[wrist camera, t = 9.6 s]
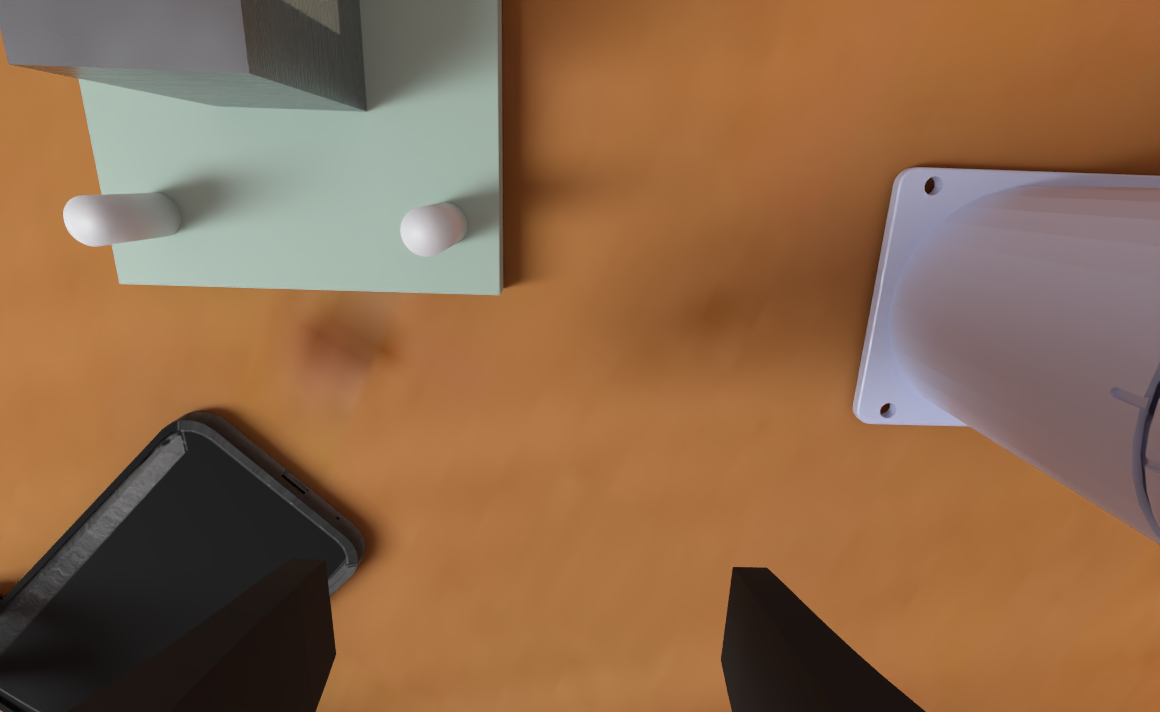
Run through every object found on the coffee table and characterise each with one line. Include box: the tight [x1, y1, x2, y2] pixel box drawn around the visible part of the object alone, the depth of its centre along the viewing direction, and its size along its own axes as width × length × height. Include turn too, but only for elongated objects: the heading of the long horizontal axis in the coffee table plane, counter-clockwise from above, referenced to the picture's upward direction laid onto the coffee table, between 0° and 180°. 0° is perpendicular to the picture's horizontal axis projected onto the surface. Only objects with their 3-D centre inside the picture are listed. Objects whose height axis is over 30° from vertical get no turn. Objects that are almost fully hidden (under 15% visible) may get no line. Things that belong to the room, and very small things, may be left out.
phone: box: [0, 411, 365, 712], centre depth 21 cm, size 8×1×15 cm
